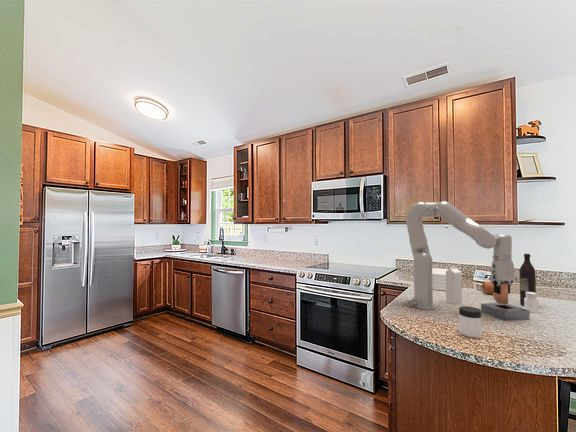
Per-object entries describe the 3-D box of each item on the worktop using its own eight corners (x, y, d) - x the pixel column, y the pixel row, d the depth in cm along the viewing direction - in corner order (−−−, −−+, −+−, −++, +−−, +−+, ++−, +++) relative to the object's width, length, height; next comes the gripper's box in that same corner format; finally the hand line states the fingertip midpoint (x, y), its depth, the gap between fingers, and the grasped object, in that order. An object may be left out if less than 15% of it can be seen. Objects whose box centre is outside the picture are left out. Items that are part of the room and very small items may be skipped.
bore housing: (504, 322, 137) (504, 311, 137) (481, 312, 151) (481, 303, 151) (529, 320, 139) (529, 310, 139) (504, 311, 153) (504, 302, 153)
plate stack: (468, 287, 210) (467, 271, 210) (449, 292, 194) (449, 276, 194) (431, 280, 233) (431, 266, 233) (411, 285, 217) (411, 270, 218)
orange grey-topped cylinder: (501, 304, 143) (502, 283, 143) (493, 301, 148) (493, 281, 148) (510, 303, 143) (510, 283, 144) (501, 300, 148) (502, 280, 148)
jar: (461, 331, 126) (460, 304, 126) (482, 336, 121) (482, 308, 121) (457, 337, 119) (457, 309, 119) (480, 343, 114) (479, 313, 114)
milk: (462, 303, 168) (461, 266, 168) (455, 304, 166) (454, 267, 166) (452, 301, 174) (452, 265, 174) (445, 302, 171) (445, 265, 171)
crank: (482, 291, 197) (482, 280, 197) (495, 292, 194) (495, 281, 194) (491, 298, 178) (490, 286, 178) (506, 300, 175) (506, 287, 176)
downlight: (540, 314, 148) (539, 295, 148) (522, 311, 153) (522, 293, 153) (539, 310, 154) (539, 292, 154) (523, 308, 159) (522, 290, 159)
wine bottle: (519, 302, 169) (518, 252, 169) (535, 304, 165) (534, 253, 165) (520, 305, 163) (519, 254, 164) (537, 307, 159) (535, 254, 160)
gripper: (494, 259, 141) (493, 295, 141) (523, 259, 143) (523, 294, 143) (481, 257, 148) (481, 291, 148) (510, 257, 151) (509, 291, 151)
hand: (501, 292), depth 146 cm, fingers closed on orange grey-topped cylinder, 5 cm apart
